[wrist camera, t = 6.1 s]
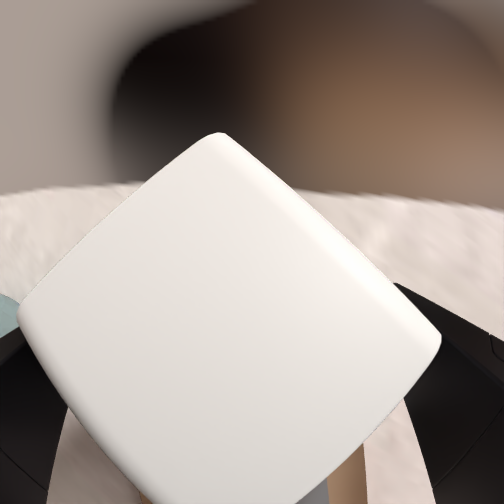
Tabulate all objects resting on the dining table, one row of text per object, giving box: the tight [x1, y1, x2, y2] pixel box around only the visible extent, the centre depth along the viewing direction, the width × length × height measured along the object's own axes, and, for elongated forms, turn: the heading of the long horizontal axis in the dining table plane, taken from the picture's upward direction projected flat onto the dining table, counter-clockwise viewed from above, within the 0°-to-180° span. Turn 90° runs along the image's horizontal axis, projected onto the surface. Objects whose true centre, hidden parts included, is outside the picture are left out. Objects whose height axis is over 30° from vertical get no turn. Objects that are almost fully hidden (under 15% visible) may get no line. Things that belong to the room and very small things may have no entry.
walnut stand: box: [139, 443, 368, 504], centre depth 16 cm, size 14×9×4 cm, turn 98°
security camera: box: [16, 133, 441, 504], centre depth 10 cm, size 6×7×10 cm
